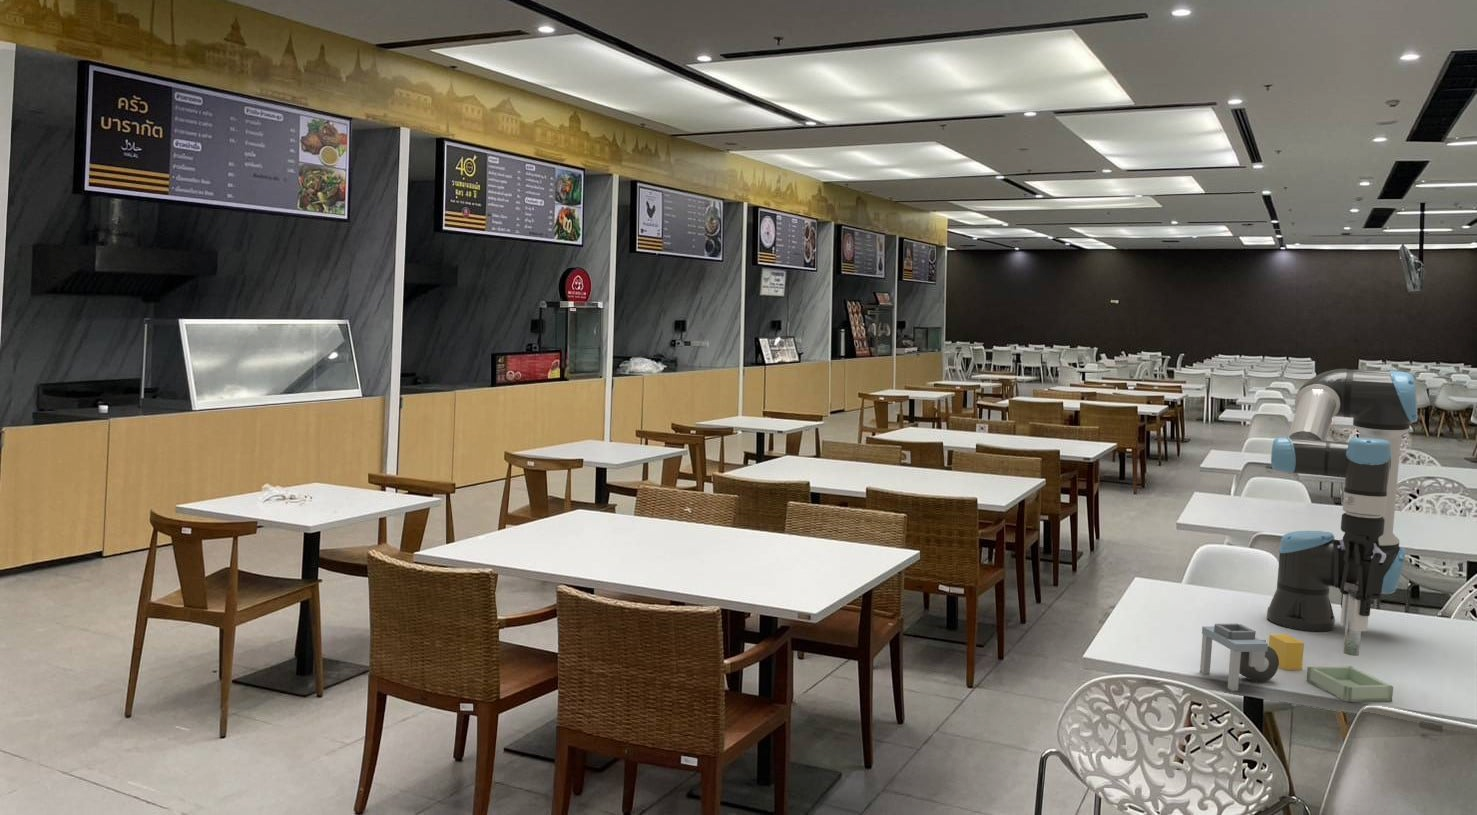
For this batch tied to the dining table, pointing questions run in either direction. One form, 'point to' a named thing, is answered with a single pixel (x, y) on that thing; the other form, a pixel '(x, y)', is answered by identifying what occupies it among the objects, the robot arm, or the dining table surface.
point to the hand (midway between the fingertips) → (1353, 627)
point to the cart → (1240, 653)
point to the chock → (1287, 651)
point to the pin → (1351, 622)
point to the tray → (1349, 684)
